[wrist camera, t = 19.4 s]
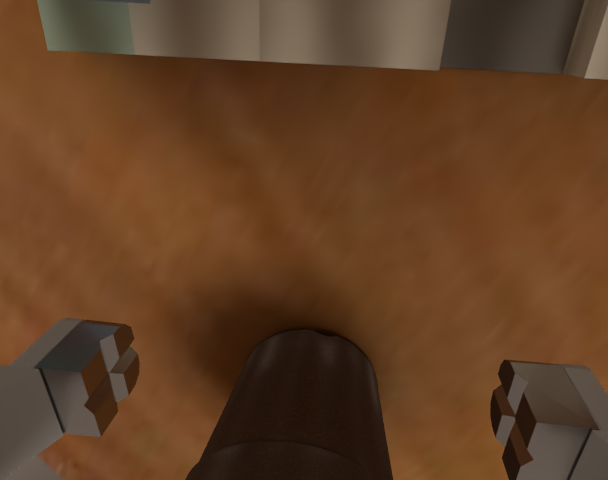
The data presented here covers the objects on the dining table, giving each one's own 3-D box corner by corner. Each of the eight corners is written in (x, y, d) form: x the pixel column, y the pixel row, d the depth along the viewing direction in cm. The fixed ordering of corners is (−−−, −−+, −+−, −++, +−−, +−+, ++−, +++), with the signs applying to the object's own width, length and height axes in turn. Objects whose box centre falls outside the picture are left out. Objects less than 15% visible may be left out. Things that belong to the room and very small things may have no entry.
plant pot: (439, 397, 37) (487, 627, 23) (307, 462, 43) (278, 673, 29) (318, 273, 33) (283, 458, 19) (192, 364, 39) (92, 555, 25)
